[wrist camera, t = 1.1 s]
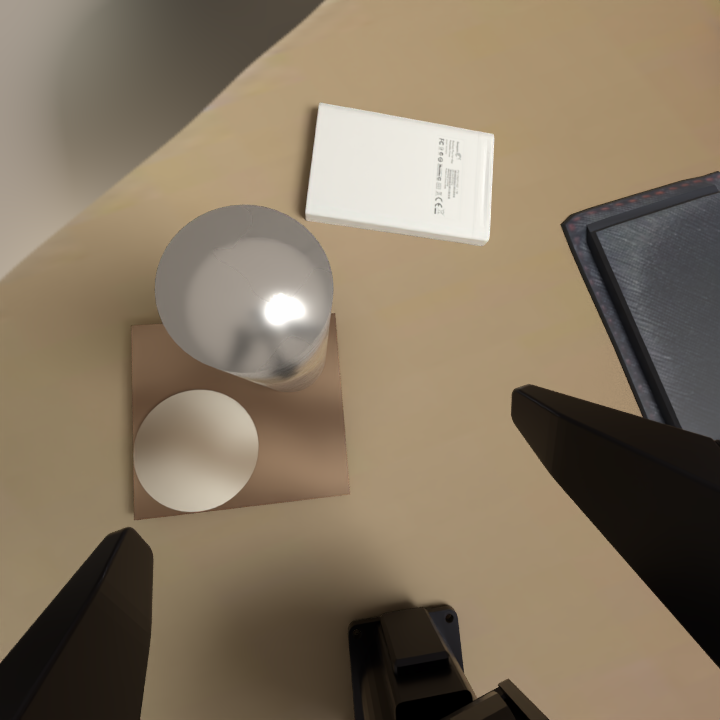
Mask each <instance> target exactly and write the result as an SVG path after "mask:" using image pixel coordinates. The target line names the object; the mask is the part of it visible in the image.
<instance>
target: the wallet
mask: <svg viewBox="0 0 720 720" xmlns="http://www.w3.org/2000/svg"><path fill="white" fill-rule="evenodd" d="M561 226H562V229H563V232H564V234H565V237H566V239H567V242H568V244H569V247H570V250H571V252H572V254H573V257H574V259H575V261H576V263H577V266H578V268H579V270H580V273H581V275H582V277H583V279H584V282H585V284H586V286H587V288H588V291H589V293H590V295H591V297H592V299H593V302H594V304H595V306H596V308H597V311H598V313H599V315H600V317H601V319H602V322H603V324H604V326H605V328H606V331H607V333H608V335H609V337H610V340H611V342H612V344H613V346H614V349H615V351H616V353H617V356H618V358H619V361H620V363H621V365H622V368H623V370H624V372H625V375H626V377H627V380H628V382H629V384H630V387H631V389H632V392H633V394H634V396H635V399H636V401H637V404H638V406H639V408H640V411H641V413H642V416H643V418H646V419H650V420H653V421H656V422H660V423H663V424H666V425H670V426H673V427H677V428H680V429H683V430H687V431H690V432H694V433H697V434H700V435H704V436H707V437H710V438H712V439H713V440H720V172H719V171H717V172H714V173H711V174H708V175H705V176H701V177H696V178H691V179H686V180H682V181H679V182H676V183H672V184H669V185H665V186H662V187H659V188H655V189H652V190H648V191H645V192H642V193H638V194H635V195H632V196H628V197H625V198H622V199H618V200H615V201H612V202H608V203H605V204H602V205H598V206H595V207H592V208H589V209H586V210H583V211H580V212H578V213H575V214H572V215H570V216H569V217H568V218H567V219H566V220H565V221H564V222H563V223H562V224H561Z"/></svg>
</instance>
